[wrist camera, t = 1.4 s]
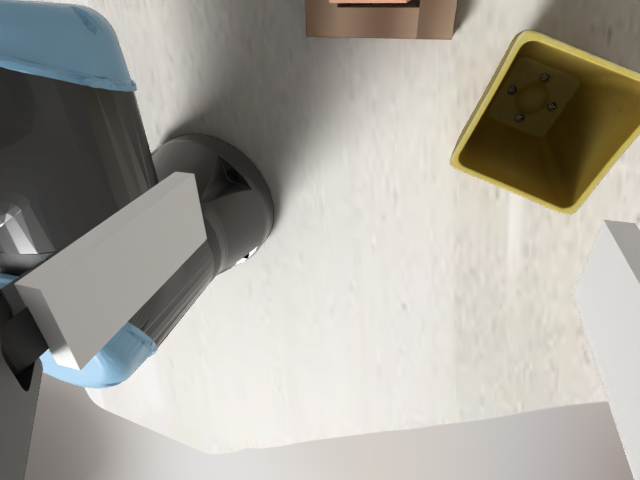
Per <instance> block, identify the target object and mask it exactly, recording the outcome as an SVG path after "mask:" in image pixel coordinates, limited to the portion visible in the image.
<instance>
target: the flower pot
mask: <svg viewBox="0 0 640 480" xmlns="http://www.w3.org/2000/svg"><path fill="white" fill-rule="evenodd" d="M542 74H548V75H549V78H548V80H547V81H544V82H543V81H541V79H540V77H541V75H542ZM511 86H514V87H515V88H516V91H515V93H512V94H510V93H509V92H508V89H509V88H510V87H511ZM549 103H555V105H556V106H555V108H554V109H552V110H549V109H548V108H547V106H548V104H549ZM518 114H522V115H523V116H524V117H523V119H522V120H521V121H517V120H516V116H517V115H518ZM639 135H640V72H637V71H635V70H632V69H630V68H627V67H624V66H622V65H619V64H616V63H614V62H612V61H609V60H607V59H604V58H602V57H599V56H597V55H594V54H592V53H589V52H587V51H584V50H582V49H579V48H577V47H574V46H572V45H569V44H567V43H564V42H562V41H560V40H557V39H554V38H552V37H550V36H547V35H545V34H543V33H540V32H537V31H534V30H524V31H522V32H520V33H518V34H517V35H516V36H515V37H514V39H513V40H512V42H511V43H510V45H509V47H508V49H507V51H506V53H505V55H504V57H503V59H502V61H501V63H500V64H499V66H498V68H497V70H496V72H495V74H494V76H493V77H492V79H491V81H490V83H489V85H488V86H487V88H486V90H485V92H484V94H483V95H482V97H481V99H480V101H479V102H478V104H477V106H476V108H475V110H474V111H473V113H472V115H471V117H470V118H469V120H468V122H467V124H466V125H465V127H464V129H463V131H462V133H461V134H460V137H459V139H458V141H457V143H456V146H455V148H454V151H453V153H452V156H451V159H450V165H451V166H452V167H454V168H455V169H457V170H460V171H462V172H464V173H467V174H469V175H471V176H474V177H477V178H479V179H482V180H484V181H486V182H488V183H491V184H493V185H496V186H498V187H501V188H503V189H505V190H508V191H510V192H512V193H515V194H517V195H519V196H522V197H524V198H526V199H529V200H531V201H533V202H535V203H538V204H540V205H542V206H544V207H547V208H549V209H551V210H553V211H556V212H559V213H562V214H567V215H572V214H573V213H575V212H576V211H577V210H578V209H579V208H580V206H581V205H582V204H583V203H584V202H585V200H586V199H587V198H588V196H589V195H590V194H591V193H592V191H593V190H594V189H595V187H596V186H597V185H598V184H599V182H600V181H601V180H602V179H603V177H604V176H605V175H606V174H607V172H608V171H609V170H610V168H611V167H612V166H613V165H614V164H615V162H616V161H617V160H618V159H619V158H620V156H621V155H622V154H623V153H624V152H625V150H626V149H627V148H628V147H629V146H630V145H631V144H632V142H633V141H634V140H635V139H636V138H637V137H638V136H639Z"/></svg>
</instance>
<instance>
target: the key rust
mask: <svg viewBox="0 0 640 480" xmlns="http://www.w3.org/2000/svg"><path fill="white" fill-rule="evenodd" d="M409 1H411V0H329V3H407V2H409Z"/></svg>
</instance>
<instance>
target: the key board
mask: <svg viewBox="0 0 640 480" xmlns="http://www.w3.org/2000/svg"><path fill="white" fill-rule="evenodd" d="M457 1H458V0H420V6H344V3H329V0H305V8H306V37H349V38H396V39H442V40H452V36H453V29H454V22H455V15H456V8H457Z"/></svg>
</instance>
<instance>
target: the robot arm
mask: <svg viewBox="0 0 640 480" xmlns="http://www.w3.org/2000/svg"><path fill="white" fill-rule="evenodd" d="M136 90H137V87H136V84H135V82H134V81H133V80H131V78H130V75H129V71H128V68H127V65H126V62H125V59H124V56H123V53H122V50H121V47H120V44H119V41H118V38H117V35H116V33H115V31H114V29H113V28H112V26H111V24H110V23H109V22H108V21H107V20H106V19H105V18H104V17H103V16H102V15H101V14H100V13H98V12H96V11H95V10H93V9H91V8H89V7H86V6H83V5H77V4H65V3H51V2H37V1H22V0H0V480H24V476H25V470H26V465H27V459H28V453H29V447H30V441H31V435H32V430H33V424H34V418H35V412H36V406H37V400H38V395H39V389H40V383H41V377H42V372H44V373H46V374H48V375H51V376H53V377H55V378H58V379H60V380H62V381H65V382H68V383H71V384H75V385H78V386H83V387H88V388H108V387H112V386H115V385H118V384H120V383H121V382H123V381H125V380H126V379H127V378H129V377H130V376H131V375H132V374H133V373H134V372H135V371H136V370H137V368H138V367H139V366H140V365H141V364H142V363H143V362H144V361H145V360H146V359H147V358H148V357H150V356H152V355H154V354H155V352H156V351H157V348H158V347H159V345H160V344H161V343H162V342H163V341H164V339H165V338H166V337H167V336H168V334H169V333H170V332H171V331H172V329H173V328H174V327H175V326H176V324H177V323H178V322H179V321H180V319H181V318H182V317H183V316H184V314H185V313H186V312H187V311H188V309H189V308H190V307H191V306H192V304H193V303H194V302H195V301H196V299H197V298H198V297H199V296H200V294H201V293H202V292H203V291H204V290H205V288H206V287H207V286H208V284H209V283H210V282H211V281H212V280H213V279H214V277H215V276H217V275H219V274H220V273H222V272H224V271H226V270H228V269H230V268H232V267H233V266H234V265H237V264H240V263H242V262H244V261H246V260H247V259H249V258H250V257H251V256H253V255H254V254H255V253H256V252H257V251H258V249H259V248H260V247H261V245H262V244H263V243H264V242H265V240H266V239H267V237H268V235H269V233H270V231H271V228H272V224H273V216H274V211H273V203H272V198H271V195H270V192H269V189H268V187H267V184H266V182H265V180H264V179H263V177H262V175H261V174H260V172H259V171H258V170H257V168H256V167H255V166H254V165H253V163H252V162H251V161H250V160H249V159H248V158H247V157H246V156H245V155H244V154H242V153H241V152H240V151H239V150H237V149H236V148H234V147H233V146H231V145H230V144H228V143H226V142H224V141H222V140H220V139H217V138H214V137H211V136H207V135H201V134H187V135H182V136H178V137H176V138H173V139H172V140H170V141H168V142H166V143H165V144H163V145H161V146H159V147H158V148H156V149H155V150H154V151H153V152H152V153H151V152H150V149H149V145H148V141H147V138H146V134H145V130H144V126H143V123H142V119H141V115H140V111H139V108H138V104H137V100H136V97H135V93H134V91H136ZM572 296H573V299H574V302H575V305H576V308H577V311H578V314H579V317H580V320H581V323H582V326H583V329H584V332H585V335H586V338H587V340H588V343H589V346H590V349H591V352H592V355H593V358H594V361H595V364H596V367H597V370H598V373H599V376H600V379H601V382H602V385H603V388H604V391H605V394H606V397H607V400H608V403H609V406H610V409H611V412H612V415H613V418H614V421H615V424H616V427H617V430H618V433H619V436H620V438H621V442H622V444H623V447H624V451H625V454H626V457H627V460H628V463H629V465H630V469H631V471H632V474H633V478H634V480H640V230H639V229H638V227H637V226H636V224H635V223H627V222H618V221H609V220H603V222H602V225H601V227H600V230H599V232H598V235H597V237H596V239H595V242H594V244H593V247H592V249H591V252H590V254H589V256H588V259H587V261H586V264H585V266H584V269H583V271H582V273H581V276H580V278H579V281H578V283H577V286H576V288H575V290H574V293H573V295H572Z"/></svg>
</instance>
